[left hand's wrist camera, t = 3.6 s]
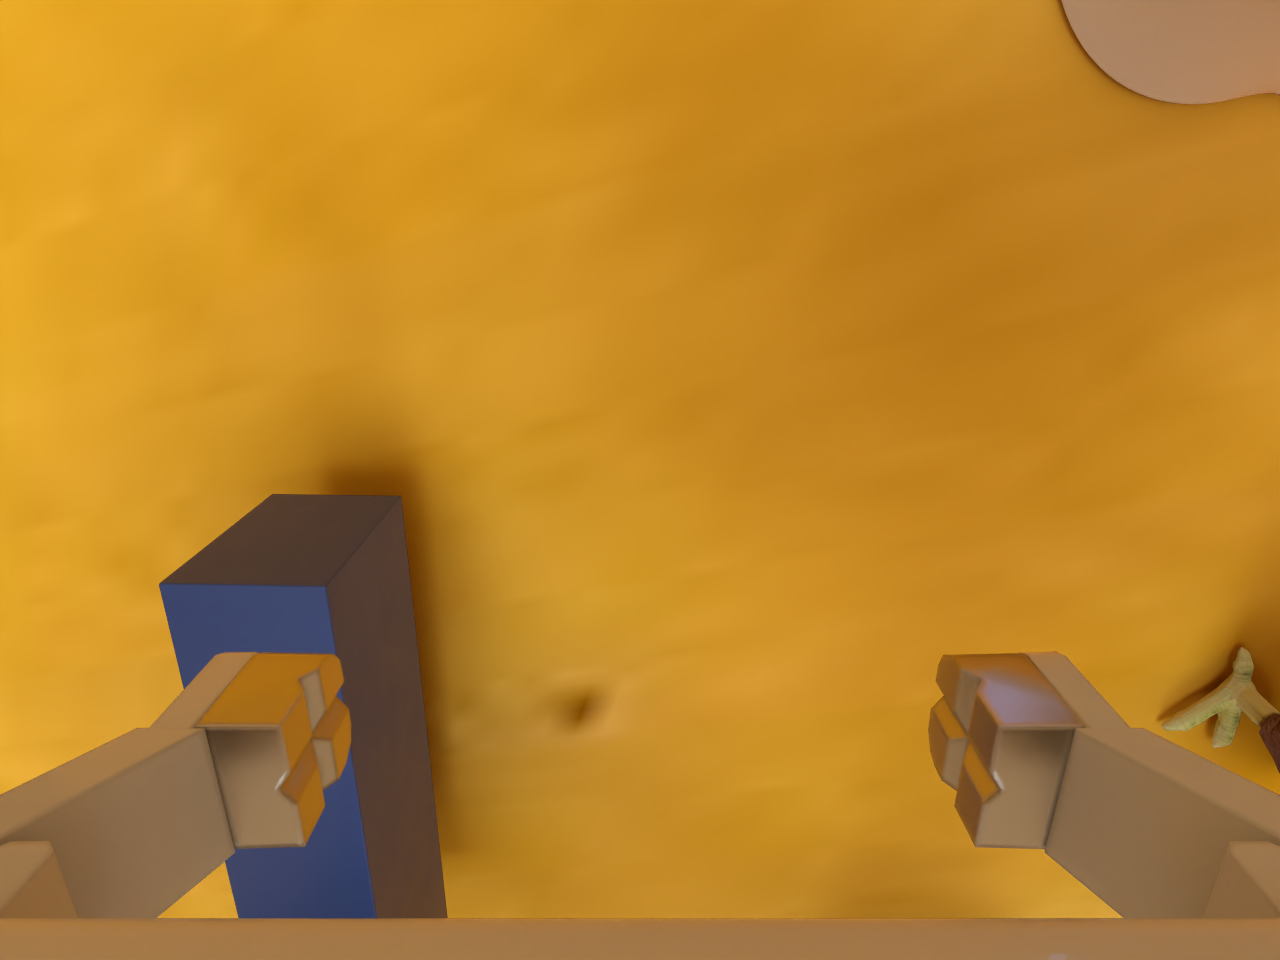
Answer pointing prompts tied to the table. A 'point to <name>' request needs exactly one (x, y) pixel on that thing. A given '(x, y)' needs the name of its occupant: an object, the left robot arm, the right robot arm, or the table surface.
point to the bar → (372, 690)
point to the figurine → (1233, 709)
